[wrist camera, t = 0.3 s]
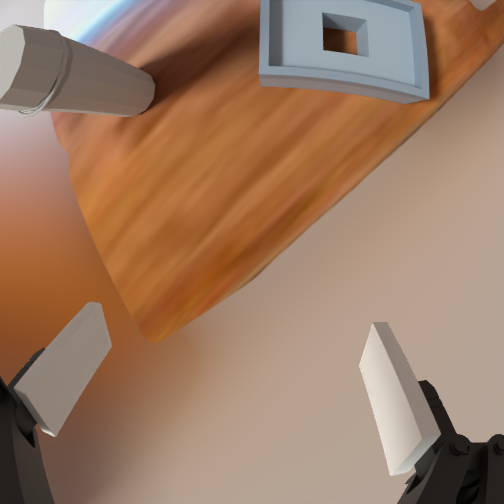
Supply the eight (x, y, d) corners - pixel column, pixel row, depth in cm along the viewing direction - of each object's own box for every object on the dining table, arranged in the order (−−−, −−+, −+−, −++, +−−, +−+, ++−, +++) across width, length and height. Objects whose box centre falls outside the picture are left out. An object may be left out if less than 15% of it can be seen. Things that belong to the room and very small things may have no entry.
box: (262, -1, 28) (261, -25, 22) (400, 20, 27) (420, 4, 21) (260, 86, 33) (258, 74, 27) (405, 104, 32) (429, 99, 26)
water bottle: (154, 61, 32) (34, -1, 9) (161, 111, 35) (29, 90, 12) (99, 82, 33) (-33, 60, 10) (105, 129, 36) (-35, 140, 13)
